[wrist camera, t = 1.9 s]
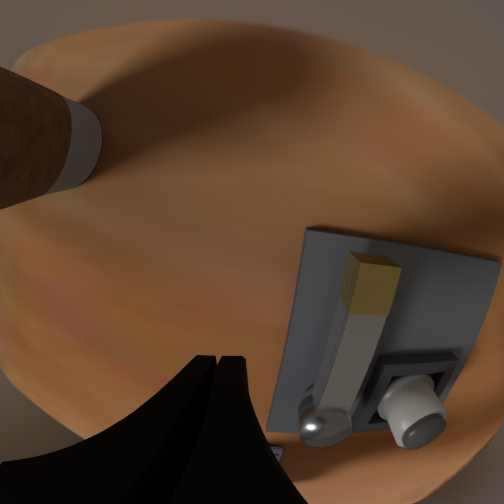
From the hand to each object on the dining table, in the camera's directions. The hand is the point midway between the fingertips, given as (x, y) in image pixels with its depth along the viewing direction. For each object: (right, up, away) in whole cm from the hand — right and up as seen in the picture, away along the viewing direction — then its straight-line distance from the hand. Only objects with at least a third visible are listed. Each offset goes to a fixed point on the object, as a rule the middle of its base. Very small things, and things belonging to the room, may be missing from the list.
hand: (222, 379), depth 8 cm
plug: (+13, -6, +10) cm, 17 cm away
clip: (+6, -2, +6) cm, 9 cm away
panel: (+11, -3, +9) cm, 14 cm away
